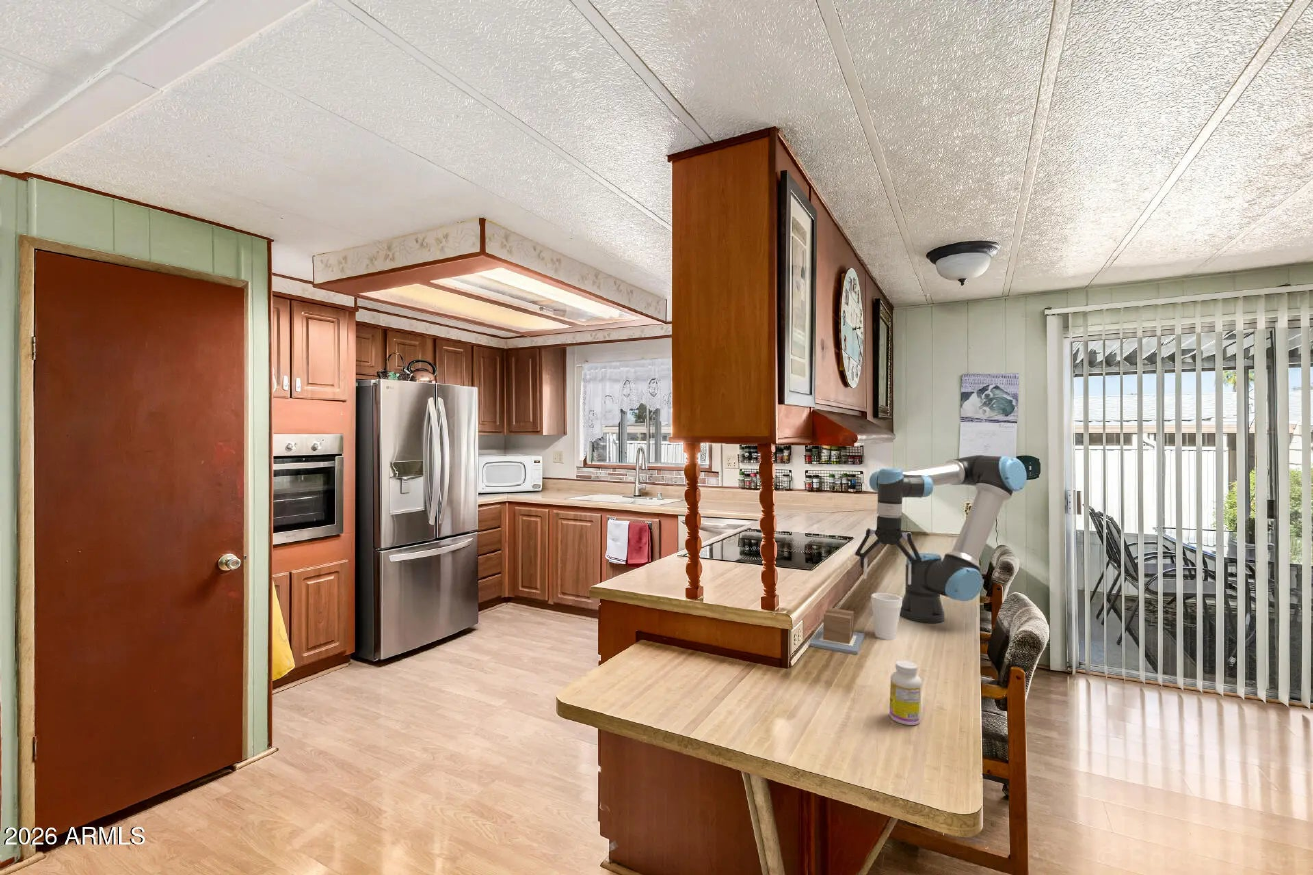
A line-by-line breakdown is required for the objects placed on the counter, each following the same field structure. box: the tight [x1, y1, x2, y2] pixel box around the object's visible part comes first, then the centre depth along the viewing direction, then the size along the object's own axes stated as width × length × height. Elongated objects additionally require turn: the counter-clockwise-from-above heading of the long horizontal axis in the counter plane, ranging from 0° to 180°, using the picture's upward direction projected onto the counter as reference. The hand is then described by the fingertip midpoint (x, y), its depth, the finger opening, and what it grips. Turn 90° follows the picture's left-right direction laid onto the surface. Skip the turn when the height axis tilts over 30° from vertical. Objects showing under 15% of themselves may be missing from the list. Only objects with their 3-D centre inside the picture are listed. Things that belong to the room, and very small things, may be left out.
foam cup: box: [870, 592, 903, 641], centre depth 195 cm, size 10×9×13 cm
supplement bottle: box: [889, 660, 923, 726], centre depth 138 cm, size 7×7×13 cm
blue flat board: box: [809, 626, 866, 655], centre depth 189 cm, size 18×14×1 cm
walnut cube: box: [822, 607, 855, 644], centre depth 189 cm, size 8×8×8 cm
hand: (886, 580), depth 195 cm, fingers open, 13 cm apart
